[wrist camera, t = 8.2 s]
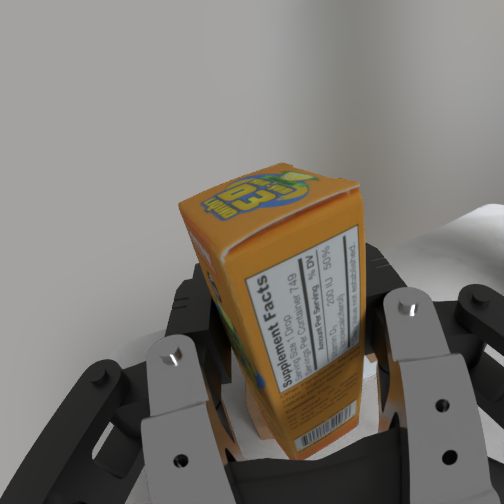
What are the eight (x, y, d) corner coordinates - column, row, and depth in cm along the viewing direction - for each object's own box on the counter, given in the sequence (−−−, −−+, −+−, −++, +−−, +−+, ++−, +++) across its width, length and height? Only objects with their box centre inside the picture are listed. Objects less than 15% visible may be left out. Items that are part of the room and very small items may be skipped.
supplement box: (251, 416, 12) (170, 195, 7) (317, 380, 13) (290, 157, 8) (289, 473, 9) (213, 239, 4) (361, 427, 10) (380, 177, 5)
